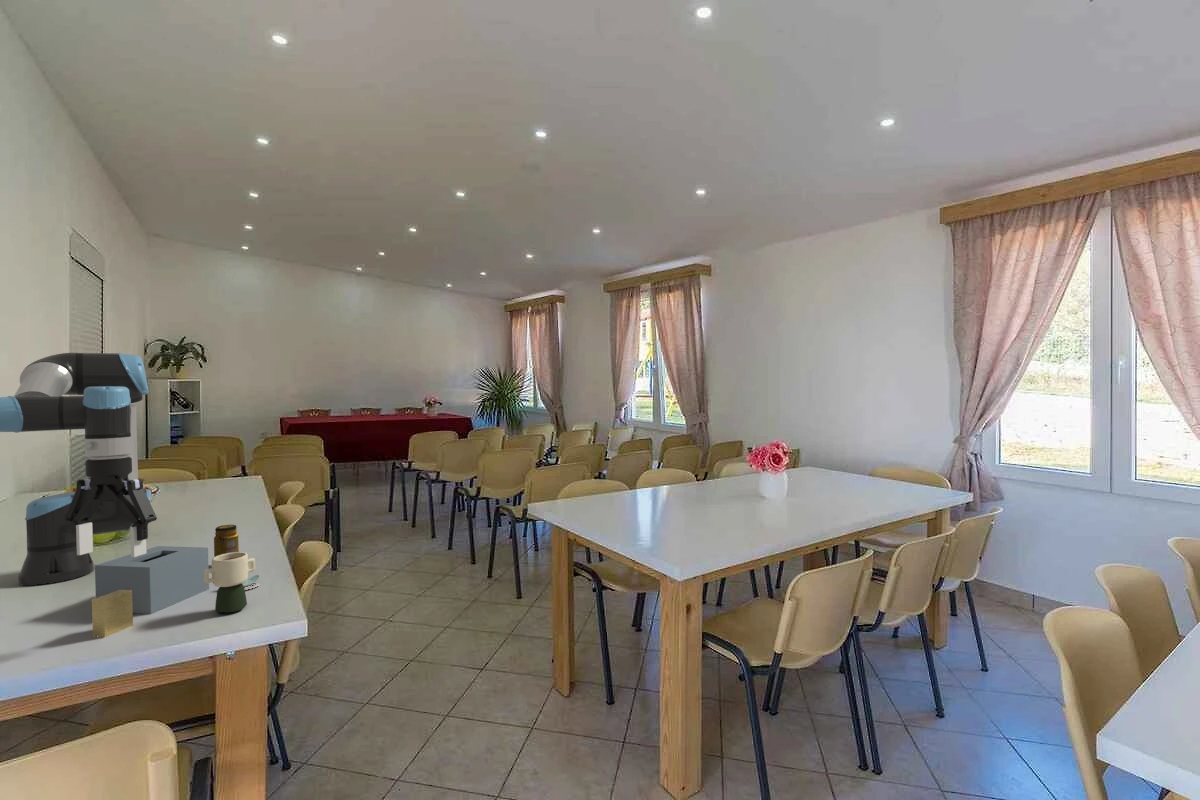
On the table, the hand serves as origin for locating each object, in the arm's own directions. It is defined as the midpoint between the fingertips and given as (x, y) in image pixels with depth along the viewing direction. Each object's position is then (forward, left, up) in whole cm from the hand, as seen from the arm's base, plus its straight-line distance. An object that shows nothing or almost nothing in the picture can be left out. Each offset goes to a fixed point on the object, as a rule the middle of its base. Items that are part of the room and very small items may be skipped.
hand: (111, 554), depth 118 cm
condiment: (-11, +42, -17) cm, 47 cm away
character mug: (+17, +13, -17) cm, 27 cm away
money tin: (-8, +17, -17) cm, 25 cm away
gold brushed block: (0, 0, -17) cm, 17 cm away
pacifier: (+8, +27, -17) cm, 33 cm away
